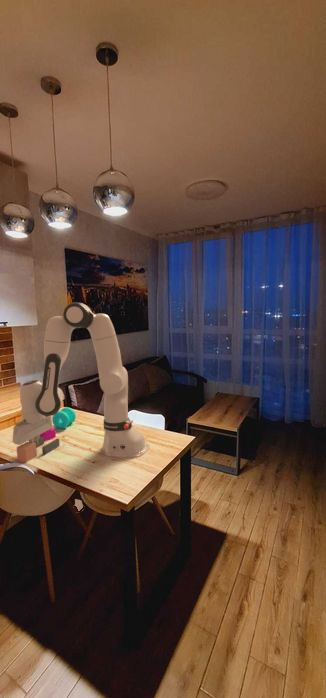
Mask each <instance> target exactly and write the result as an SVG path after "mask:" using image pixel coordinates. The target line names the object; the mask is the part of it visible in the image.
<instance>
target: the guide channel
mask: <svg viewBox="0 0 326 698" xmlns="http://www.w3.org/2000/svg"><path fill="white" fill-rule="evenodd" d="M44 444H45V441H44V436H41V437H39V440H38V445H36V449H37V448H39V447H40V446H42V445H43V446H42V447H41V448H42V449H41V450H42V451H41V452H42V455H44V456H45V455H47V454H49V453H50V452H52V451H54V450H55V449H57V448H58V447H60V438H56V439H53V440H52V441H50V442H48V443H47V444H45V445H44Z"/></svg>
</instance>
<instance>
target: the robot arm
mask: <svg viewBox="0 0 326 698" xmlns="http://www.w3.org/2000/svg"><path fill="white" fill-rule="evenodd" d="M62 314H63V315H55V316H52V317H50V318H49V319H48V322H47V324H46V327H45V332H44V339H43V340H44V341H43V356H44V357H43V358H44V362H43V364H44V370H43V376H42V381H40V380H35V379H34V380H30V381H26V382H25V383H23V384H22V385H21V386H20V391H19V402H20V404H21V410H20V412H21V421H18V422H16V423H15V425H14V426H13V430H12V431H13V432H12V443H13V444H14V445H18V446H20V445H22V444H24V443H26V442H31V443H36V445H38V440H39V437H40V434H42V433H44V432H46V431H48V430H50V429H51V428H52V427H53V421H52V418H53V417H52V416H53V415H54V414H56V413H57V412H58V411H60V409H61V405H62V403H63V400H64V396H65V395H64V392H63V390H62V388H60V387H59V382H60V373H61V369H62V366H63V365H64V363H65V361H66V360H67V357H68V356H69V352H70V347H71V338H72V333H73V331H74V330H75V329H81V328H82V329H87V330H88V332H89V334H90V337H91V342H92V345H93V349H94V352H95V353H94V354H95V357H96V365H97V371H98V379H99V386H100V389H101V390H102V391H103V393H104V399H103V415H104V416H103V430H104V433H103V435H104V436H103V443H102V447H101V450H102V451H103V452H104V453H105V456H106V457H116V458H117V457H119V458H121V457H124V458H140V457H142V456H143V455H145V454H146V453H147V452H148V451H149V449H150V448H151V447H150V443H148V442H146V440H145V435H144V434H143V433H142V432H141V431H139V430H138V429H136V428H135V427H134V426H133V423H134V419H130V418H129V411H128V410H129V407H128V405H129V404H128V403H129V402H128V400H129V397H128V395H129V376H128V375H129V374H128V373H129V372H128V371H127V369H126V367H124V366H123V361H122V356H121V349H120V345H119V341H118V337H117V334H116V331H115V327H114V324H113V322H112V320H111V318H110V315H108V314H106V313H93V310H92V309H91V307H89V306H88V305H86V304H84V303H82V302H77V301H76V302H71V303H69V304H68V305H66V306H65V308H64V310H63V313H62ZM34 437H35V438H34Z"/></svg>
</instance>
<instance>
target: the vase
mask: <svg viewBox="0 0 326 698" xmlns="http://www.w3.org/2000/svg"><path fill="white" fill-rule="evenodd" d="M74 506H76V507H77V509H78V511H80V510H81V509H82V508H83V506H84V504H83V501H82V500H80V499H76V498H75V499H74Z"/></svg>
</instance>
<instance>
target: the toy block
mask: <svg viewBox="0 0 326 698" xmlns="http://www.w3.org/2000/svg"><path fill="white" fill-rule="evenodd" d="M56 433H57V432H56V429H55V428H54V427H53V428H52V427H51V429H50V430H48V431H46V432H44V433H42V434H40V437H41V436H44V442H48V441H50V440H52V439H54V438H56V436H57V435H56ZM34 439H35V437H34Z"/></svg>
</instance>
